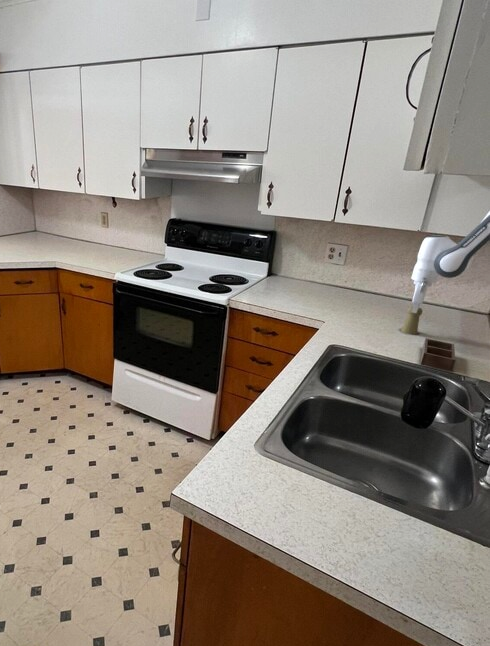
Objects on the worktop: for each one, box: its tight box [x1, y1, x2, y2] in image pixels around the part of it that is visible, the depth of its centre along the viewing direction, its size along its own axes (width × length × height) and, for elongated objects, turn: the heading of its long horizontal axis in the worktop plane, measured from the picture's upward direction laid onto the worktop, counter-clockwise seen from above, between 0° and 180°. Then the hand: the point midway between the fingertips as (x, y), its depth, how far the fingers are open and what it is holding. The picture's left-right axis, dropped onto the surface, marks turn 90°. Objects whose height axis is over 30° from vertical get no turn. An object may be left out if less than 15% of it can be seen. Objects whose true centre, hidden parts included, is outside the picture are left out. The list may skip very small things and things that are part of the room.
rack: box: [420, 338, 456, 373], centre depth 149 cm, size 9×17×5 cm, turn 148°
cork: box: [400, 305, 423, 335], centre depth 174 cm, size 6×6×11 cm
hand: (414, 309), depth 173 cm, fingers open, 8 cm apart
